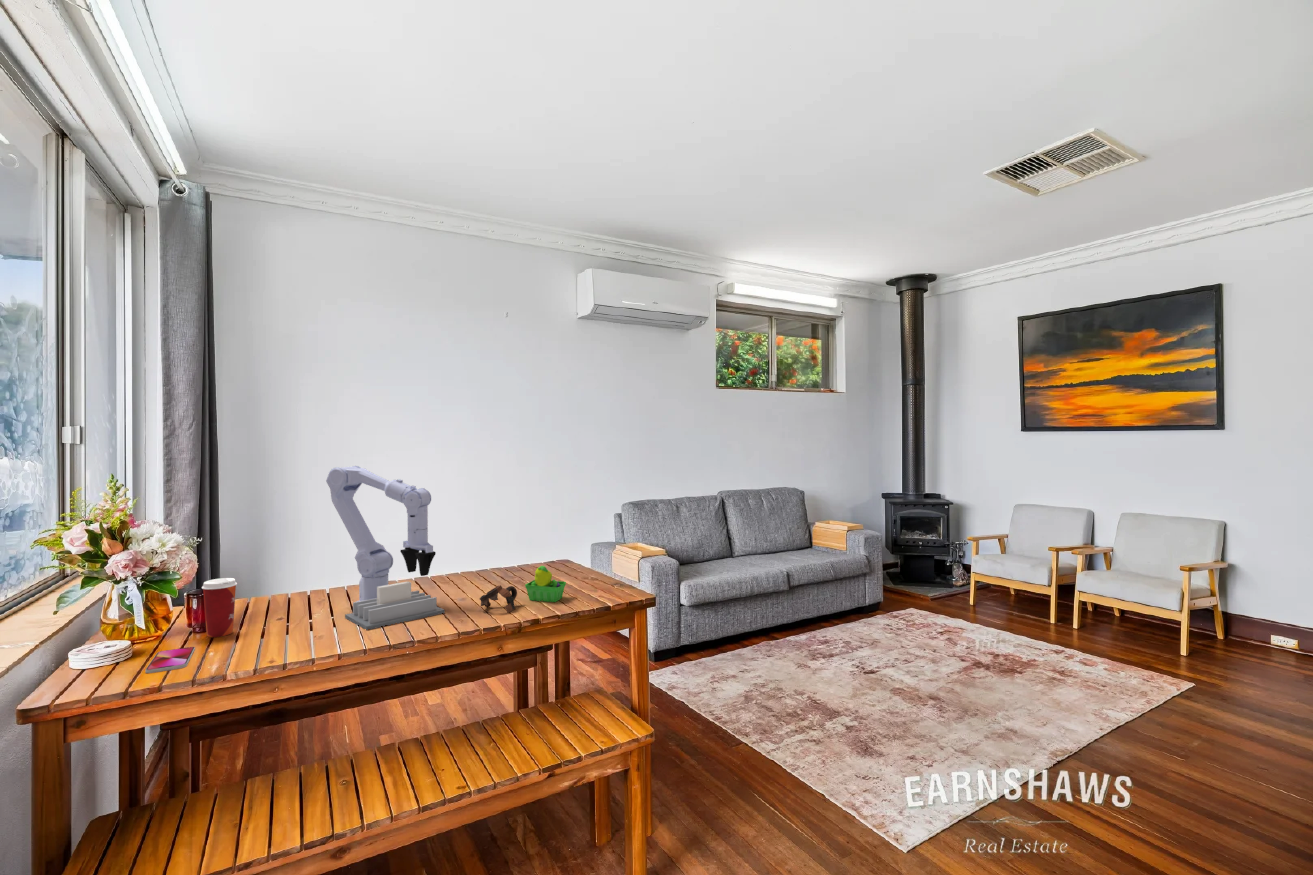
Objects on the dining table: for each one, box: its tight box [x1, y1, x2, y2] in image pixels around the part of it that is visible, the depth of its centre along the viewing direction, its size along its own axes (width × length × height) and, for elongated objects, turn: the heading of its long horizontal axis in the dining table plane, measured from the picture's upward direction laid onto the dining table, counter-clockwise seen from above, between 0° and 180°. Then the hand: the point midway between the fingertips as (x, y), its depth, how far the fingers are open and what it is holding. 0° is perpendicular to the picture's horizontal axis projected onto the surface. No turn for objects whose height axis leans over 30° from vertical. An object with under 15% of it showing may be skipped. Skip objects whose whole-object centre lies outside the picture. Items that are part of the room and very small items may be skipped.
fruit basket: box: [524, 565, 567, 603], centre depth 195 cm, size 11×9×11 cm
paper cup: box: [201, 577, 238, 638], centre depth 163 cm, size 8×8×14 cm
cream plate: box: [377, 580, 412, 605], centre depth 178 cm, size 2×9×8 cm, turn 135°
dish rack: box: [344, 590, 446, 631], centre depth 179 cm, size 16×22×4 cm
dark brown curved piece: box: [478, 584, 518, 614], centre depth 185 cm, size 12×9×8 cm
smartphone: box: [144, 646, 196, 674], centre depth 144 cm, size 7×1×15 cm
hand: (418, 573), depth 188 cm, fingers open, 7 cm apart
